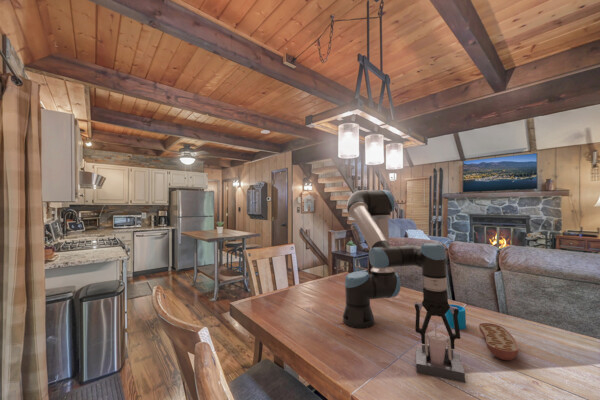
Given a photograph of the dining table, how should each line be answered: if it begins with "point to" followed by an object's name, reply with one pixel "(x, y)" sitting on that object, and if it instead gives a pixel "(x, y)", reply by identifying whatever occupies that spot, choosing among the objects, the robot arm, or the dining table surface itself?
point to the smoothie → (437, 346)
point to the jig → (450, 373)
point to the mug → (460, 316)
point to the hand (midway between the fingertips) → (438, 355)
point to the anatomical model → (499, 341)
